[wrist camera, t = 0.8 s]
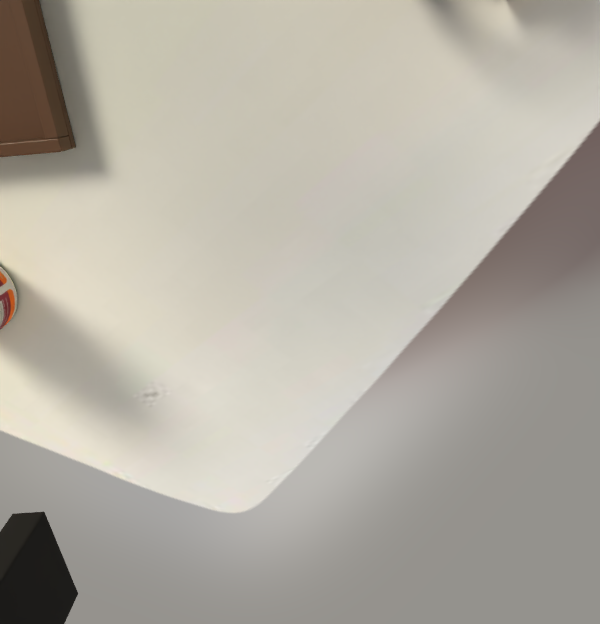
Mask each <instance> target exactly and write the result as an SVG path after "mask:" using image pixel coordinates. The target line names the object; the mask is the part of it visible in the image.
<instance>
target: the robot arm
mask: <svg viewBox="0 0 600 624" xmlns="http://www.w3.org/2000/svg"><path fill="white" fill-rule="evenodd" d="M77 595H78V592H77V590H76V587H75V585H74V583H73V580H72V578H71V576H70V573H69V571H68V568H67V566H66V564H65V561H64V558H63V556H62V554H61V551H60V549H59V546H58V544H57V542H56V539H55V537H54V535H53V532H52V529H51V527H50V525H49V522H48V520H47V517H46V515H45V513H44V512H35V513H19V514H12V516H11V517H10V519H9V520H8V522H7V523H6V524H5V526H4V527H3V529H2V530H1V532H0V624H64V623H65V621H66V618H67V616H68V614H69V612H70V610H71V608H72V606H73V603H74V601H75V599H76V597H77Z"/></svg>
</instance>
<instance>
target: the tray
mask: <svg viewBox="0 0 600 624" xmlns="http://www.w3.org/2000/svg"><path fill="white" fill-rule="evenodd" d="M75 147H76V146H75V142H74V138H73V134H72V130H71V126H70V122H69V118H68V114H67V110H66V106H65V102H64V98H63V94H62V90H61V86H60V82H59V78H58V74H57V70H56V66H55V62H54V59H53V55H52V51H51V47H50V43H49V39H48V35H47V31H46V27H45V23H44V19H43V15H42V11H41V7H40V3H39V0H0V157H7V156H18V155H30V154H41V153H53V152H62V151H65V150H68V149H72V148H75Z"/></svg>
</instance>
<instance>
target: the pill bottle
mask: <svg viewBox="0 0 600 624" xmlns="http://www.w3.org/2000/svg"><path fill="white" fill-rule="evenodd" d="M16 308H17V293H16V289H15V286H14V284H13V282H12V280H11V278H10V277H9V275H8V274H7V273H6V271H5V270H4V269H3V268H2V267H0V329H1V328H3V327H4V326H5V325H6V324H7V323H8V322H9V321H10V320H11V319H12V317H13V316H14V314H15V311H16Z"/></svg>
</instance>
